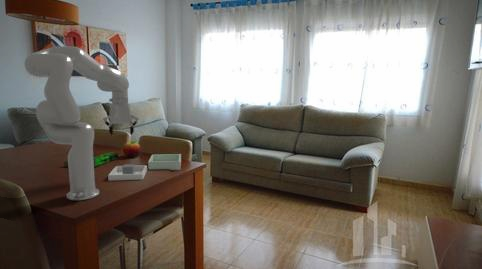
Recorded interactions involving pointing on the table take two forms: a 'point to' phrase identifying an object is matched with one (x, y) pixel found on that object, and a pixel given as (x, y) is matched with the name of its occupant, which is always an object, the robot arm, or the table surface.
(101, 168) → the table surface
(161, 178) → the table surface
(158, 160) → the bin
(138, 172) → the tub
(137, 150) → the fruit
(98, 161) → the submachine gun
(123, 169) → the stone block
